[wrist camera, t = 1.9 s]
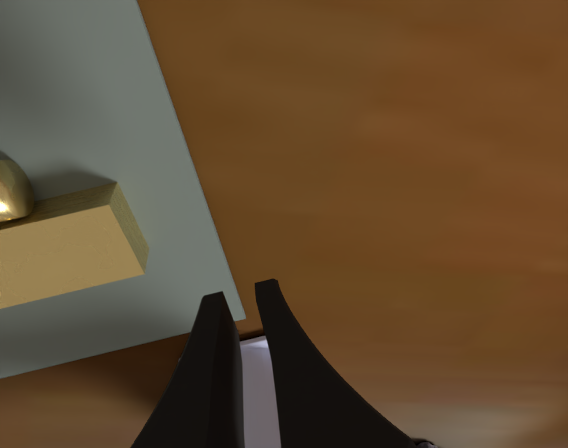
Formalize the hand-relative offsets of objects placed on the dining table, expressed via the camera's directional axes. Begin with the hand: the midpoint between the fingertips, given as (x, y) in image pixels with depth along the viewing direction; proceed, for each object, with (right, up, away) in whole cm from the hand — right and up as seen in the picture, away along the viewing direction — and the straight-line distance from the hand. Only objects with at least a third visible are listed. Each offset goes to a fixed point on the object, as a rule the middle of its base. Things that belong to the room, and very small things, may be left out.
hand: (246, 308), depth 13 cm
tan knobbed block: (-11, +3, +6) cm, 13 cm away
